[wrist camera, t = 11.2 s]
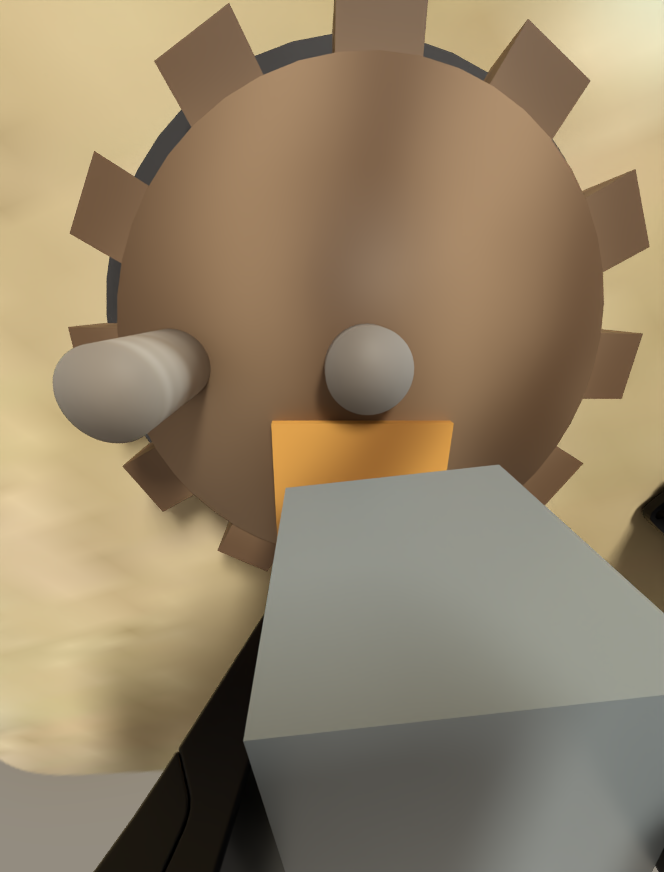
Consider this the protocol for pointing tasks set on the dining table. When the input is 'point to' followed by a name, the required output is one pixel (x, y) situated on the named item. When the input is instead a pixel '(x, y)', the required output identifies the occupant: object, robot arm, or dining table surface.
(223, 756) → the robot arm
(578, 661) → the block
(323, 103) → the index wheel
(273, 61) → the base plate
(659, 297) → the dining table surface
